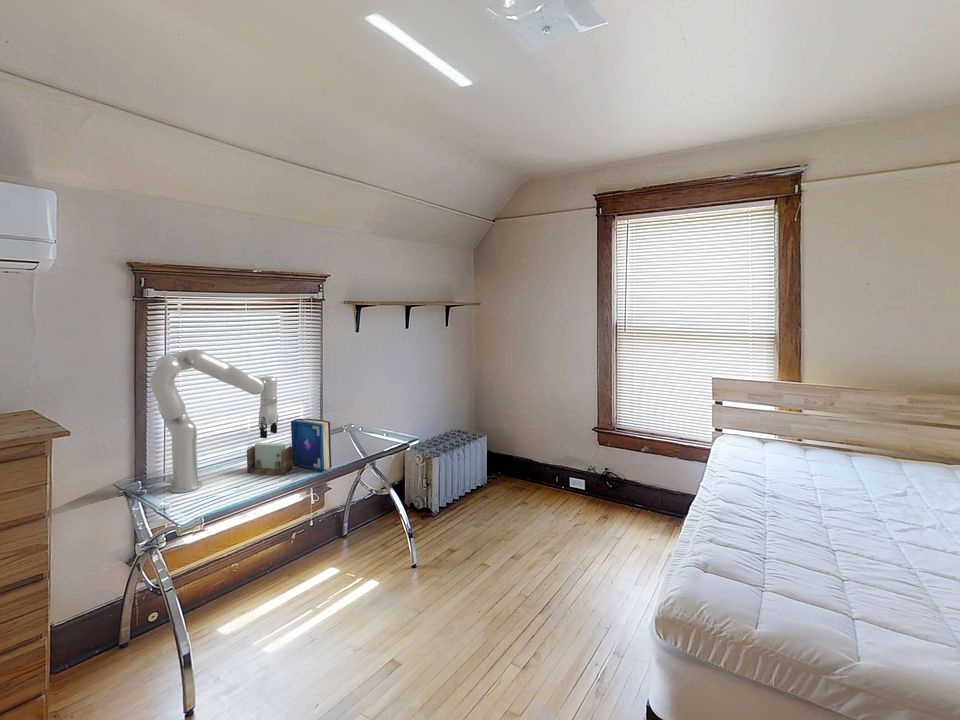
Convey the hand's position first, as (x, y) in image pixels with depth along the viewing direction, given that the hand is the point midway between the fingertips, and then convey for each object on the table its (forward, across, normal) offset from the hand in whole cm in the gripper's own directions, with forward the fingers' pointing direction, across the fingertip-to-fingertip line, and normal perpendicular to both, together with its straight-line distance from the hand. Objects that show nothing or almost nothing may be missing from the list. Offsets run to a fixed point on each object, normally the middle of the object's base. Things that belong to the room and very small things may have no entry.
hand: (268, 435), depth 240 cm
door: (+17, 0, 0) cm, 17 cm away
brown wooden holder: (+18, -1, +1) cm, 19 cm away
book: (+18, -10, +18) cm, 27 cm away
